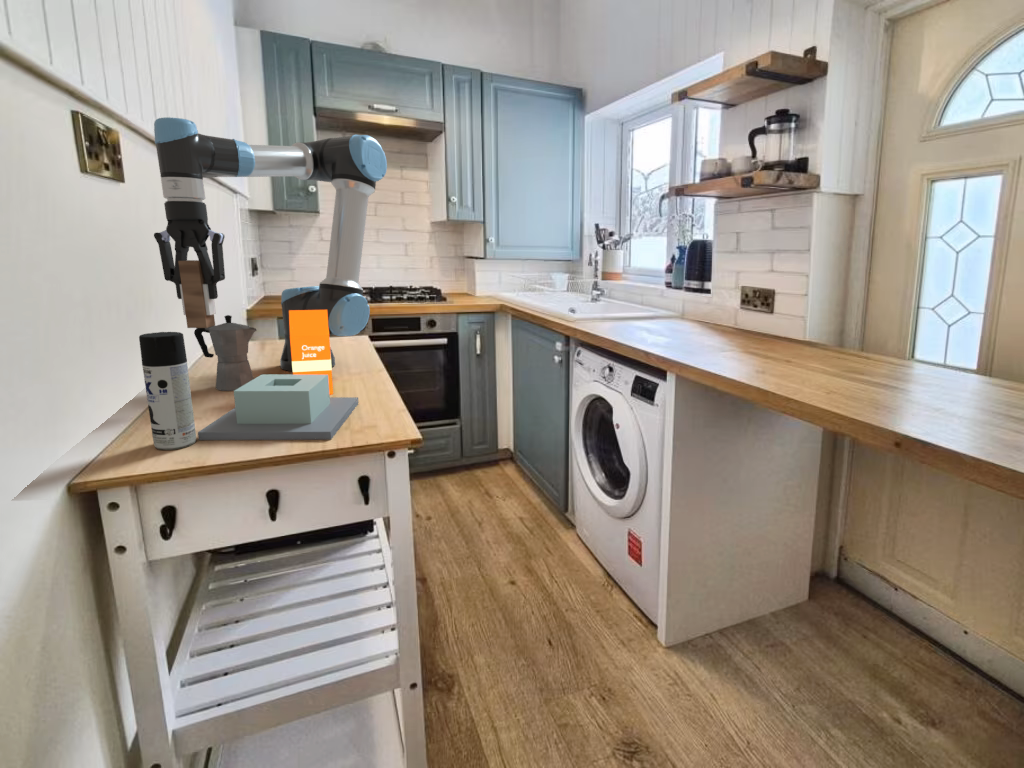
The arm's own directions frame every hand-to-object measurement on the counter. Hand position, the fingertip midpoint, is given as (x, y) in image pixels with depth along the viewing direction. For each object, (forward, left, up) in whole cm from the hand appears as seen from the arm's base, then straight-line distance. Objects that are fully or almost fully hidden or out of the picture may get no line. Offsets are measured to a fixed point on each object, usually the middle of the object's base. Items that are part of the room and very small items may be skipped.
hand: (200, 314), depth 121 cm
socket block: (+12, +21, -20) cm, 31 cm away
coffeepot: (-16, -2, -20) cm, 26 cm away
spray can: (+26, +6, -20) cm, 34 cm away
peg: (0, 0, -3) cm, 3 cm away
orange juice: (-11, +20, -20) cm, 30 cm away
